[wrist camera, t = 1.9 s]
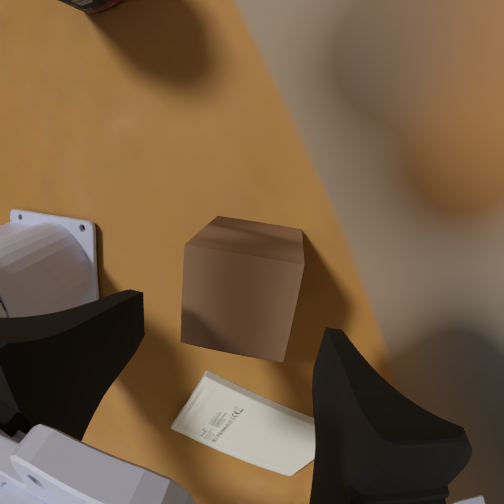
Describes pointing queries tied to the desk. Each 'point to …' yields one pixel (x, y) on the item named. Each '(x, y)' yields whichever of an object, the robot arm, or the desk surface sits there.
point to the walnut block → (241, 287)
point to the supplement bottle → (91, 4)
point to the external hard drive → (247, 426)
